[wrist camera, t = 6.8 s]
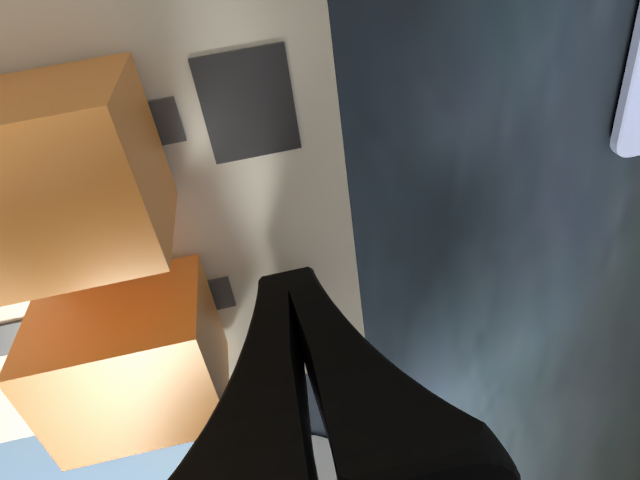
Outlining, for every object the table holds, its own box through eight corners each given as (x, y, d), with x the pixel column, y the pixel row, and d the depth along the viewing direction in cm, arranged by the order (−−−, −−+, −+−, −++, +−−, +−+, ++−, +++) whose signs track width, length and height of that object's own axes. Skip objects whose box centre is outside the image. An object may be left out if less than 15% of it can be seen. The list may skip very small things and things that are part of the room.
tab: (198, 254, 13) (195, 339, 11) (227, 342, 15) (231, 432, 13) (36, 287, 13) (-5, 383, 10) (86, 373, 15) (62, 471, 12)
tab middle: (130, 51, 10) (106, 105, 8) (177, 192, 12) (170, 271, 10) (-81, 88, 10) (-174, 157, 8) (0, 227, 12) (-54, 317, 9)
